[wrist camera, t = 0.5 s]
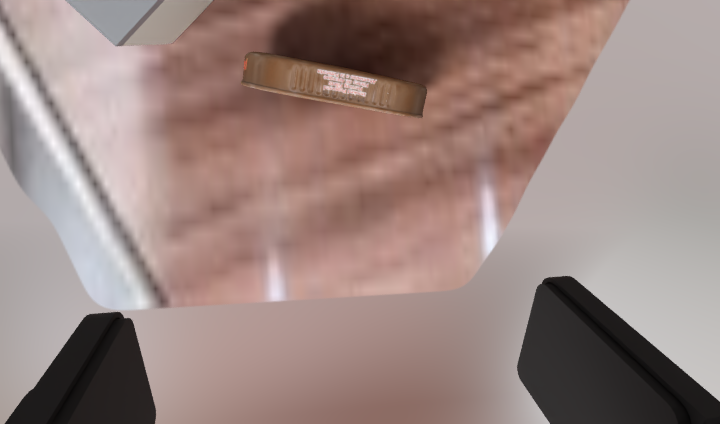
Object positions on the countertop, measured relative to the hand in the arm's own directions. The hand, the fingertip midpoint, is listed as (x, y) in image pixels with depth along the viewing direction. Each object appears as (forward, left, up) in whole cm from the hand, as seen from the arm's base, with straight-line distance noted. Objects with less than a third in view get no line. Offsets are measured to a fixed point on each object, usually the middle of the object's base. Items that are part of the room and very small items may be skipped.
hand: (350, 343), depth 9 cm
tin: (-4, 0, -31) cm, 31 cm away
